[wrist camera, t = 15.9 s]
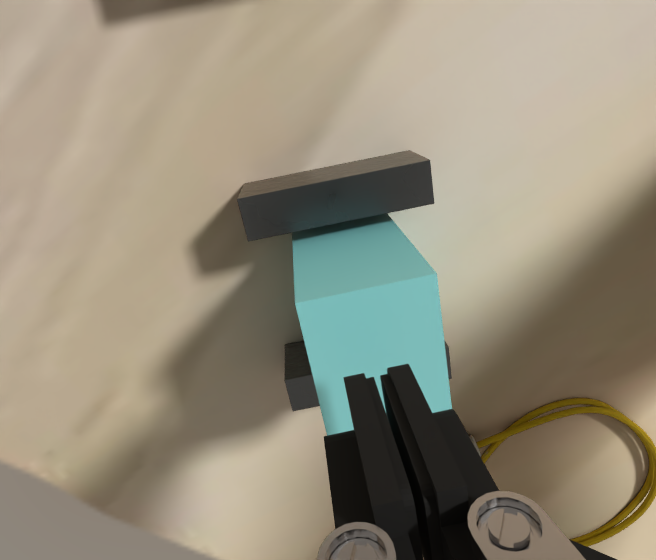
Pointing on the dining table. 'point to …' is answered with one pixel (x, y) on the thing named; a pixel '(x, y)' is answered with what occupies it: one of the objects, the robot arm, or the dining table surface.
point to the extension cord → (608, 530)
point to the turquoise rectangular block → (367, 312)
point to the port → (331, 220)
